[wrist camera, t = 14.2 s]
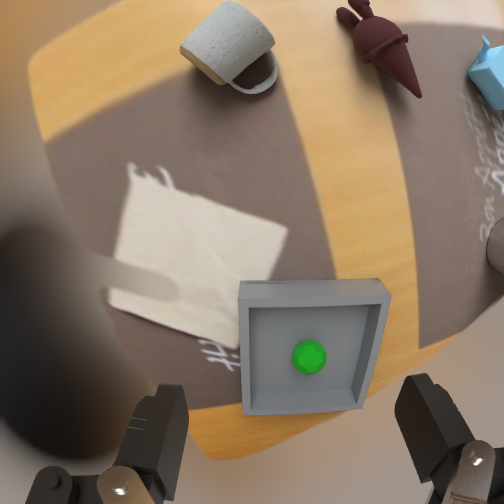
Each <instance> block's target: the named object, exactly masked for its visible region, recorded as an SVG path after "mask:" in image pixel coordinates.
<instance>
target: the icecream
mask: <svg viewBox="0 0 504 504" xmlns="http://www.w3.org/2000/svg"><path fill="white" fill-rule="evenodd" d="M348 3H349V5H350V6H351V7H352V9H354V10H355V11H356V12H357V13H358V14H359V16H361V17H362V18H363V19H362V20H361V21H360V20H359V19H358V18H357V17H356V16H355V15H354V14H353V13H352V12H351V11H350V10H348V9H346V8H344V7H340V8H338V9H337V10H336V14H337V16H338V18H339V19H340V21H341V22H342V23H344V24H345V25H346V26H348V27H349V28H351V29H353V30H354V31H353V42H354V46H355V48H356V50H357V52H358V53H359V55H360V56H362V57H363V58H364V62H363V63H364V64H367V63H368V62H370V61H371V62H373V63H374V64H376V65H377V66H378V67H380V68H381V69H382V70H384V71H385V72H386V73H388V74H389V75H390V76H392V77H393V78H394V79H396V80H397V81H398V82H399V83H401V84H402V85H403V86H404V87H406V88H407V89H408V90H409V91H410V92H411V93H413V94H414V95H415V96H416V97H417V98H421V97H422V94H421V90H420V87H419V83H418V80H417V77H416V74H415V71H414V68H413V64H412V61H411V59H410V56H409V53H408V50H407V47H406V45H405V43H408V34H402V32H401V30H400V29H399V28H398V27H397V26H396V25H395V23H393V22H391V21H389V20H387V19H385V18H382V17H378V16H374V15H373V12H372V10H371V8H370V6H369V4H370V2H369V0H348Z"/></svg>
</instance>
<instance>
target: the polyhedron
mask: <svg viewBox="0 0 504 504" xmlns="http://www.w3.org/2000/svg"><path fill="white" fill-rule="evenodd" d="M326 359H327V354H326V352H325V350H324V348H323V346H322V345H321V344H320V343H318V342H315V341H313V340H306V341H302V342H301V343H299V344H298V345H297V346H296V347H295V348H294V351H293V355H292V362H293V364H294V366H295V368H296V369H297V371H298V372H300V373H303V374H306V375H310V374H315V373H317V372H319V371H320V370H321V369H322V368H324V366H325V363H326Z"/></svg>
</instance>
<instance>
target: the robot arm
mask: <svg viewBox="0 0 504 504" xmlns="http://www.w3.org/2000/svg"><path fill="white" fill-rule="evenodd" d="M487 256H488V260H489V263H490V264H491V266H492V267H494V268H495V269H497V270H498V271H499V272H501V273H502V274H504V218H502V219H501V220H500V221H499V222H497V224H496V225H495V226H494V228H493V230H492V232H491V234H490V237H489V240H488V245H487ZM395 417H396V420H397V422H398V425H399V427H400V430H401V432H402V435H403V437H404V440H405V442H406V445H407V447H408V450H409V452H410V455H411V458H412V460H413V463H414V466H415V468H416V471H417V474H418V476H419V479H420V482H421V484H422V483H425V482H428V481H432V482H433V487H432V488H431V490H430V493H429V495H428V497H427V500H426V502H425V504H504V447H503V448H492V446H491V445H490V444H488V443H487V442H485V441H482V440H476V439H475V438H474V437H473V434H472V433H471V431H470V429H469V427H468V426H467V424H466V422H465V420H464V419H463V417H462V415H461V414H460V412H459V411H458V408H457V407H456V405H455V404H454V403H453V400H452V398H451V397H450V395H449V394H448V392H447V391H446V390H445V389H443V388H442V387H441V386H440V385H439V384H435V385H434V384H433V382H432V380H431V379H430V377H429V376H428V374H426V373H422V374H417V375H411V376H407V377H406V378H405V380H404V383H403V385H402V388H401V391H400V393H399V396H398V399H397V401H396V404H395ZM188 424H189V414H188V409H187V404H186V400H185V395H184V390H183V387H182V385H178V384H166V383H160V384H159V386H158V389H157V392H156V395H155V397H153V396H145V397H144V398H143V399H142V400H141V401H140V402H139V403H138V404H137V405H136V407H135V410H134V412H133V415H132V419H131V420H130V423H129V425H128V426H129V427H128V428H127V431H126V433H125V436H124V439H123V441H122V444H121V447H120V449H119V452H118V455H117V458H116V460H115V462H114V464H113V465H112V467H109V468H107V469H105V470H104V471H102V473H101V474H98V475H91V476H89V475H88V476H71V475H70V474H69V473H68V472H67V471H66V470H65V469H63V468H61V467H58V466H48V467H45V468H43V469H42V470H40V471H39V472H38V474H37V475H36V477H35V480H34V482H33V485H32V487H31V490H30V492H29V495H28V497H27V500H26V503H25V504H163V502H164V500H168V501H174V495H175V490H176V485H177V480H178V475H179V470H180V465H181V460H182V454H183V450H184V445H185V440H186V435H187V431H188Z"/></svg>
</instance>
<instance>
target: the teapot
mask: <svg viewBox="0 0 504 504" xmlns="http://www.w3.org/2000/svg"><path fill="white" fill-rule="evenodd" d="M482 38H483V41H484V45H483V46H482V48H480V50H479V51H478V54H477V58H476V59H475V61H474V62H473V63H472V65H471V66H470V67H469V69H468V70H467V71H466V73H467V74H468V75H469V76H470V79H471V81H472V82H474V83H475V85H476V86H477V87H478V89H479V90H480V91H481V93H482V94H483V96H484V99H485V100H486V101H487V102H488V103H489V105H490V106H491V108H492V109H493V110H504V45H503V46H499V47H495V48H491V49H489V48H490V43H489V41H488V40H487V38H486V37H485V36H484V35H482Z"/></svg>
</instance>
